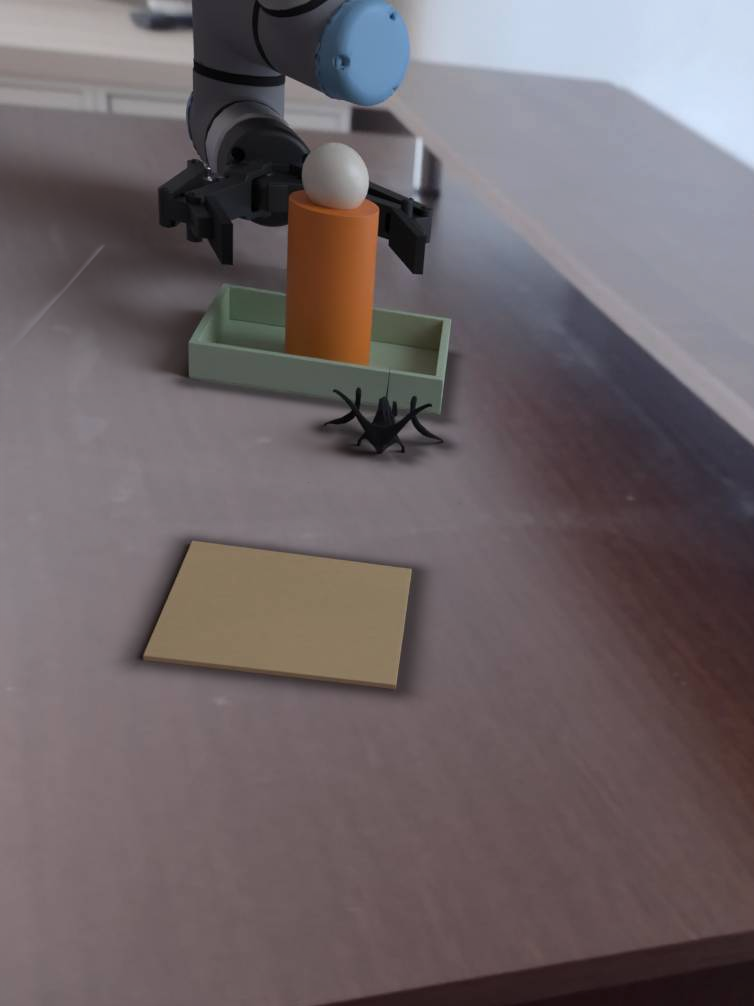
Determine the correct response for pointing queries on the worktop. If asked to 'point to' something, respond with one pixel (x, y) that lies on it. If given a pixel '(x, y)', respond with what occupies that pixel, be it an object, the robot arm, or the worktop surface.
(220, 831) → the worktop surface
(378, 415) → the creature
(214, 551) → the mat
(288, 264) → the skittle
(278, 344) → the tray
